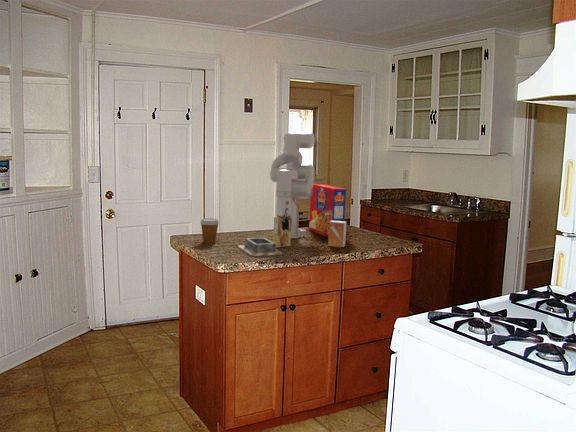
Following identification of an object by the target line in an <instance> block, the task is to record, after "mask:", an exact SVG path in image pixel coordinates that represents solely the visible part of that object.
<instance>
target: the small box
mask: <svg viewBox="0 0 576 432" xmlns="http://www.w3.org/2000/svg"><path fill="white" fill-rule="evenodd" d="M347 224H348V223H347V221H345V220H344V221H334V220H332V221H330V222H329V235H328V237H327V238H328V239H327V247H335V248H341V247H343V248H344V247H345V246H346V237H347Z"/></svg>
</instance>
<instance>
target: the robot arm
mask: <svg viewBox="0 0 576 432" xmlns="http://www.w3.org/2000/svg"><path fill="white" fill-rule="evenodd" d="M283 143H284V144H283V149H282V152H281V153H280V154H279V155H277V156H276V157H275V158H274V159H273V161H272V163H271V168H270V171H269V178H270V180H271V182H273V183H276V189H275V190H276V194H275V195H276V196H275V197H276V205H275V212H276V213H275V214H276V217H280V216H281V217H283V226H282V229H283V230H288V229H289V219H290V217H292V224H291V239H299V238H301V237H302V235H301V234H307V230H306V229H300V228H299V218H300V205H299V202H298V200H297V199H311V196H312V192H313V184H314V180H315V168H314V165H313V164H310V163H303V154H302V153H301V151H300V149H311V148H313V146H314V145H315V134H314V133H313V132H305V131H304V132H300V131H289V132H286V133H284V136H283ZM285 165H286V168H285V167H282V166H285Z"/></svg>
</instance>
